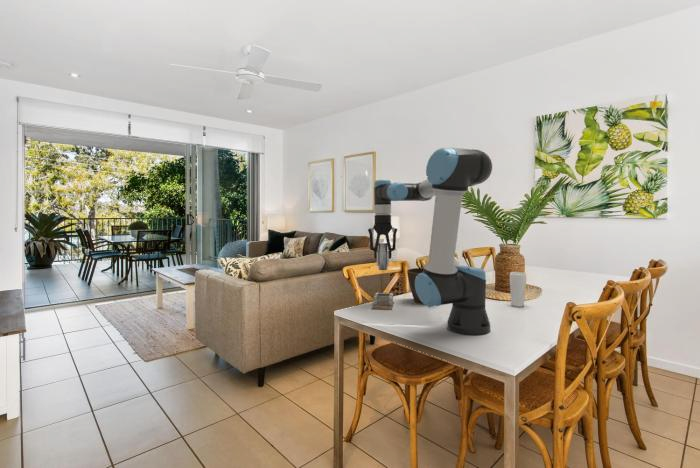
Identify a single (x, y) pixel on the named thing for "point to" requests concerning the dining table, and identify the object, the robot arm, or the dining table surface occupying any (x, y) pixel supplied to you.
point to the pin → (382, 256)
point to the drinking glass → (517, 288)
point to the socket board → (383, 301)
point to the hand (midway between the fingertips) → (382, 265)
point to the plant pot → (411, 277)
